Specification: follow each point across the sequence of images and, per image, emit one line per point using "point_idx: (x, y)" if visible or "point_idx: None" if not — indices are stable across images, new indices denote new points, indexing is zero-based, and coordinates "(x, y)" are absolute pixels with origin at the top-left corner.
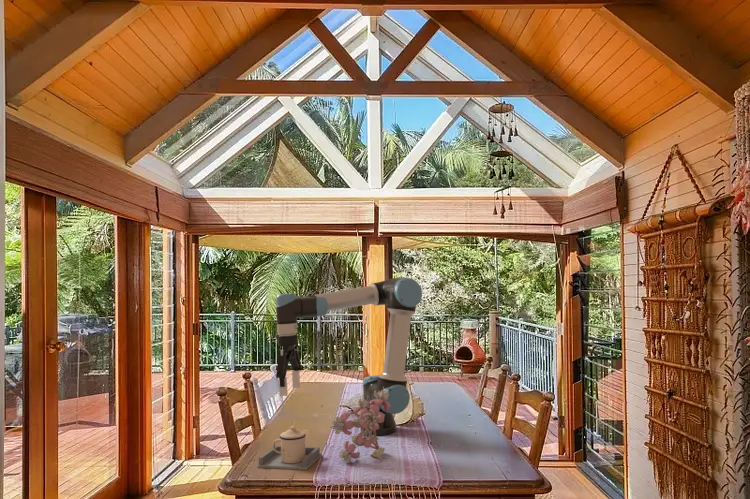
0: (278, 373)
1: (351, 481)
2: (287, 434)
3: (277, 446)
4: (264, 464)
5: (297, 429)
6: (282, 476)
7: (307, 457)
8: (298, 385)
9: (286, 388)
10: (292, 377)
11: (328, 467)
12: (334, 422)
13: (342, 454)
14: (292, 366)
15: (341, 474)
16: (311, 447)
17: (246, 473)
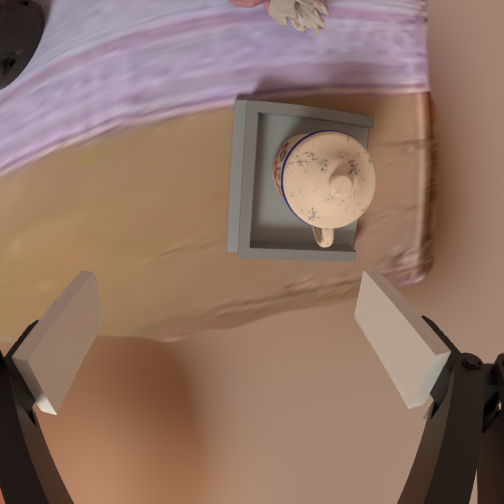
0: (485, 413)
1: (418, 13)
2: (363, 194)
3: (246, 248)
4: (347, 240)
5: (330, 164)
6: (408, 168)
7: (353, 116)
8: (87, 287)
9: (401, 296)
10: (75, 370)
11: (342, 61)
12: (315, 5)
13: (330, 17)
14: (46, 449)
15: (385, 29)
16: (249, 128)
17: (386, 262)
